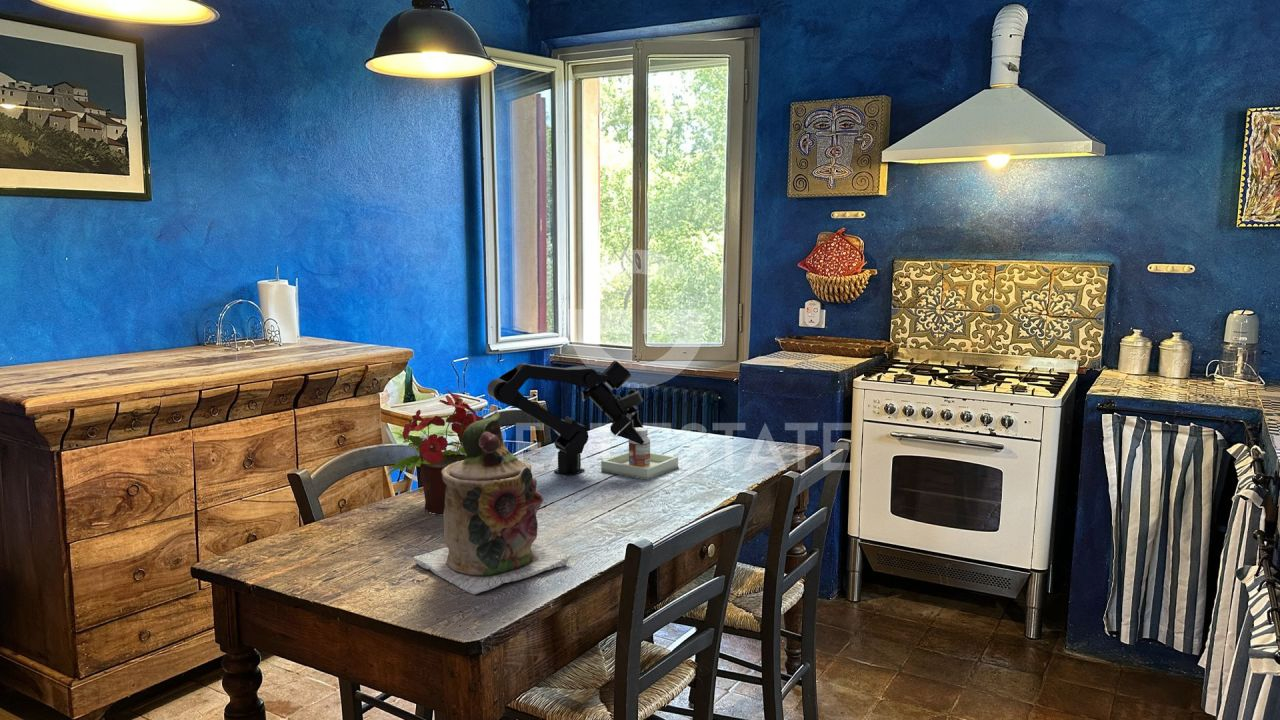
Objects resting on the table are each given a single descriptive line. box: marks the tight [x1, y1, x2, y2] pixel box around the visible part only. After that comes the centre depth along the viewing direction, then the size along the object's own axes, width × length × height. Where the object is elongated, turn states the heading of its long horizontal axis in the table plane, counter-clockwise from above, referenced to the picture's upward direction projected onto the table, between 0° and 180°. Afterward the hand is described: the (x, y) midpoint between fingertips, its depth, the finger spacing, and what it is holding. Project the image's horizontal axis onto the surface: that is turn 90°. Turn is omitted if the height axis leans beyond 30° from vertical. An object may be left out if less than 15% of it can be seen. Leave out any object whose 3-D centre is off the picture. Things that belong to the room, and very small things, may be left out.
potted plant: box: [386, 388, 485, 515], centre depth 224 cm, size 30×27×30 cm
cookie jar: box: [413, 410, 572, 595], centre depth 183 cm, size 25×25×32 cm
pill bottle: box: [628, 427, 651, 468], centre depth 257 cm, size 6×6×11 cm
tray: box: [600, 450, 679, 481], centre depth 258 cm, size 16×16×3 cm
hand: (644, 439), depth 257 cm, fingers open, 9 cm apart
